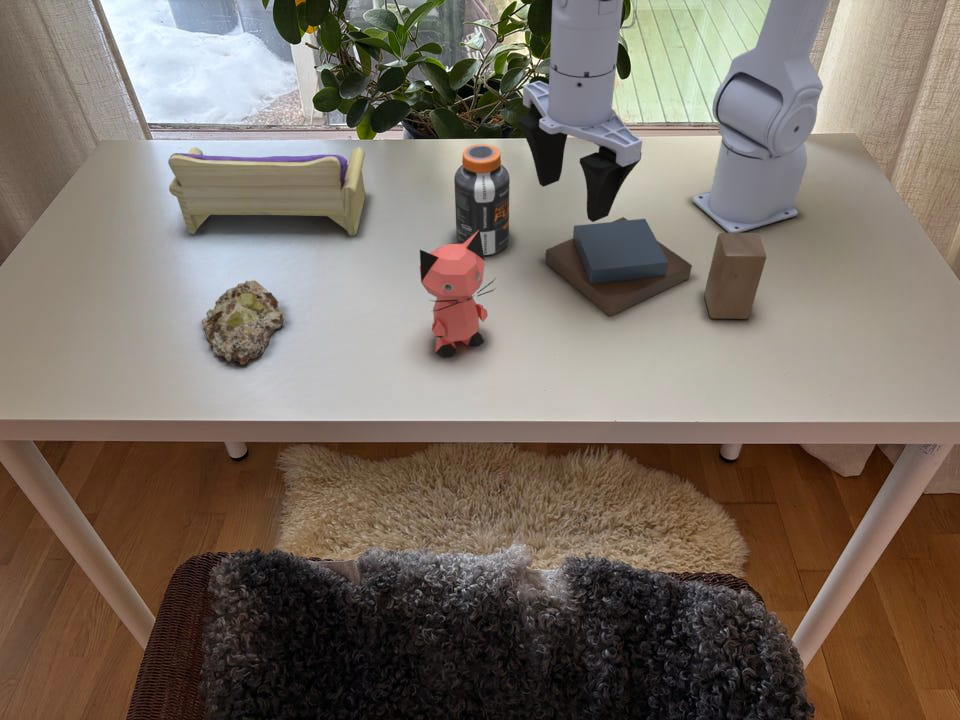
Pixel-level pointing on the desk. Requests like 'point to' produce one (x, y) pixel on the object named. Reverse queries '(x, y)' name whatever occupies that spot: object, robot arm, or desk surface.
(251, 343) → the mineral rock
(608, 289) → the base slab
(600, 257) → the top tile
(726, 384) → the desk surface
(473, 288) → the cat figurine
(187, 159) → the toy sofa
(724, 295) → the wooden block
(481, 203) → the pill bottle
